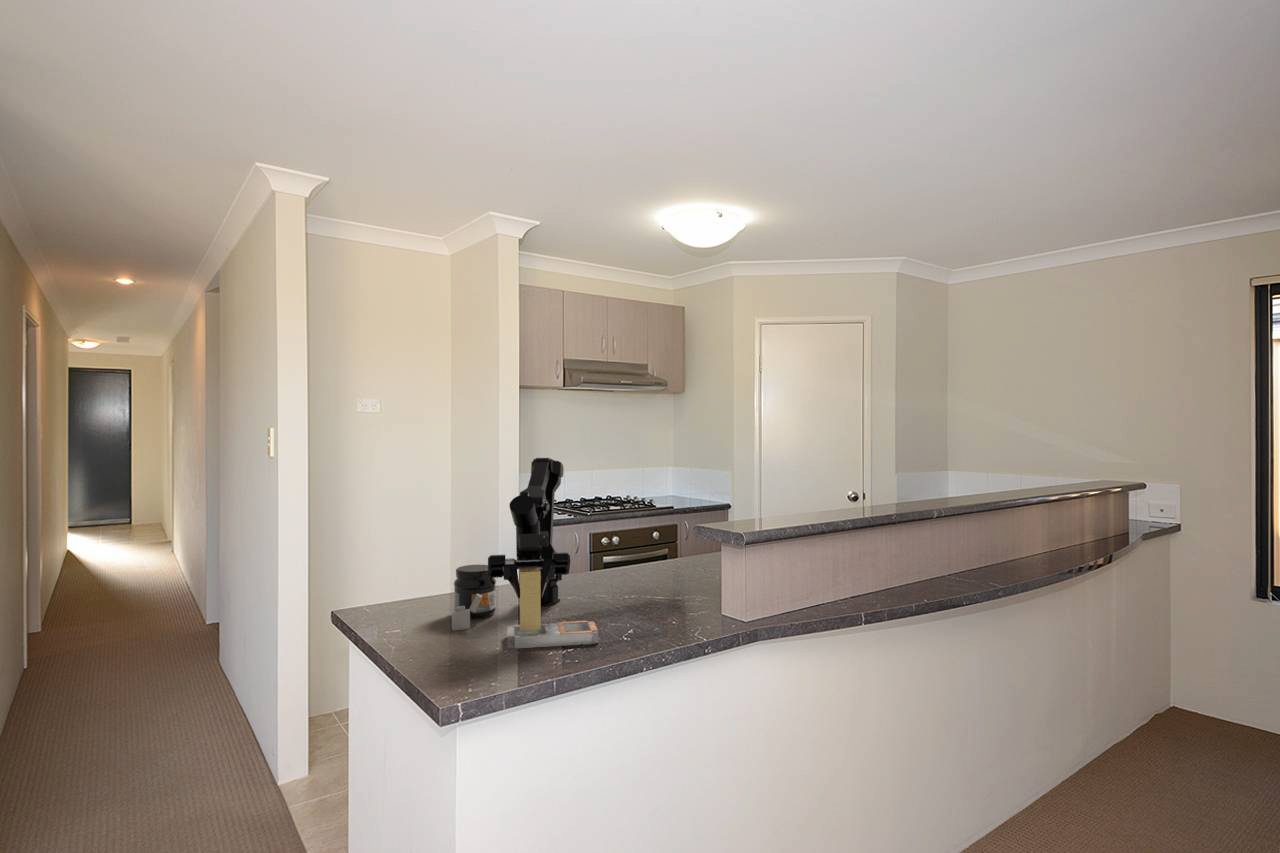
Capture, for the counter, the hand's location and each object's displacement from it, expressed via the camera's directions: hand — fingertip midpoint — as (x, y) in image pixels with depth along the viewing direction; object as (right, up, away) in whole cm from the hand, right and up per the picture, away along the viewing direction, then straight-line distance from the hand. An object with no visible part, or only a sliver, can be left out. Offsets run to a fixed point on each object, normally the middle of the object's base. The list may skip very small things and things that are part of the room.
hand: (530, 597), depth 160 cm
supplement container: (-18, -10, +23) cm, 31 cm away
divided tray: (+5, -10, +2) cm, 12 cm away
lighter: (-17, -10, +12) cm, 23 cm away
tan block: (0, -7, +2) cm, 7 cm away
